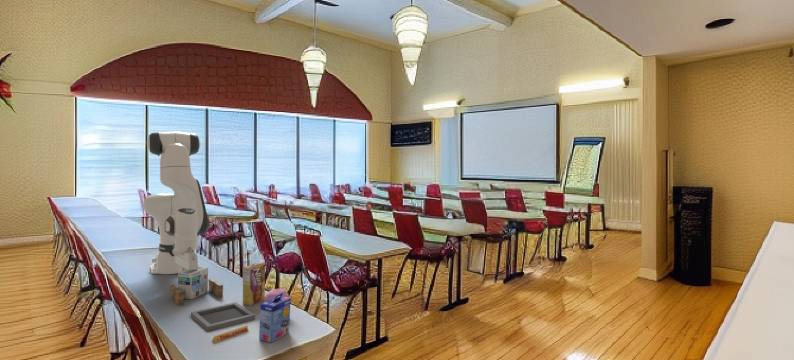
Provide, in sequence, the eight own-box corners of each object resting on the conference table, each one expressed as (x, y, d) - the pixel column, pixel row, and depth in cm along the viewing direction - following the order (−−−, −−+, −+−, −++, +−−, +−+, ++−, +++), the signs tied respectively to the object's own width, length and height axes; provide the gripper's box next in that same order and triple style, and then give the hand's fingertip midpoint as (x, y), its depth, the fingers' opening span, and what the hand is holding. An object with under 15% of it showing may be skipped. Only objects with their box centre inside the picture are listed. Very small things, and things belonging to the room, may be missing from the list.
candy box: (256, 297, 173) (257, 261, 173) (265, 299, 172) (266, 263, 171) (241, 304, 165) (242, 266, 164) (250, 305, 164) (251, 268, 163)
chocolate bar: (211, 342, 132) (211, 335, 132) (244, 330, 142) (245, 324, 141) (215, 344, 130) (215, 337, 130) (249, 332, 140) (249, 326, 140)
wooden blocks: (169, 297, 169) (169, 285, 169) (212, 289, 181) (212, 278, 181) (178, 305, 161) (179, 293, 160) (222, 296, 173) (223, 285, 172)
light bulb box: (191, 299, 168) (191, 273, 167) (177, 298, 169) (177, 272, 169) (208, 291, 178) (208, 267, 178) (194, 290, 180) (195, 265, 179)
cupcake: (292, 312, 158) (293, 287, 157) (280, 321, 150) (281, 294, 149) (272, 309, 160) (273, 284, 160) (259, 317, 152) (259, 291, 151)
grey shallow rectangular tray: (190, 316, 151) (190, 312, 151) (236, 305, 163) (236, 302, 163) (207, 331, 139) (207, 326, 139) (255, 318, 151) (255, 314, 151)
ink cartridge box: (272, 343, 132) (273, 299, 131) (258, 340, 134) (259, 296, 133) (290, 332, 141) (291, 290, 140) (277, 329, 143) (278, 288, 142)
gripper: (202, 249, 173) (201, 281, 174) (186, 241, 188) (186, 271, 188) (186, 250, 169) (185, 284, 169) (171, 243, 184) (171, 273, 184)
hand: (185, 277), depth 179 cm, fingers closed
